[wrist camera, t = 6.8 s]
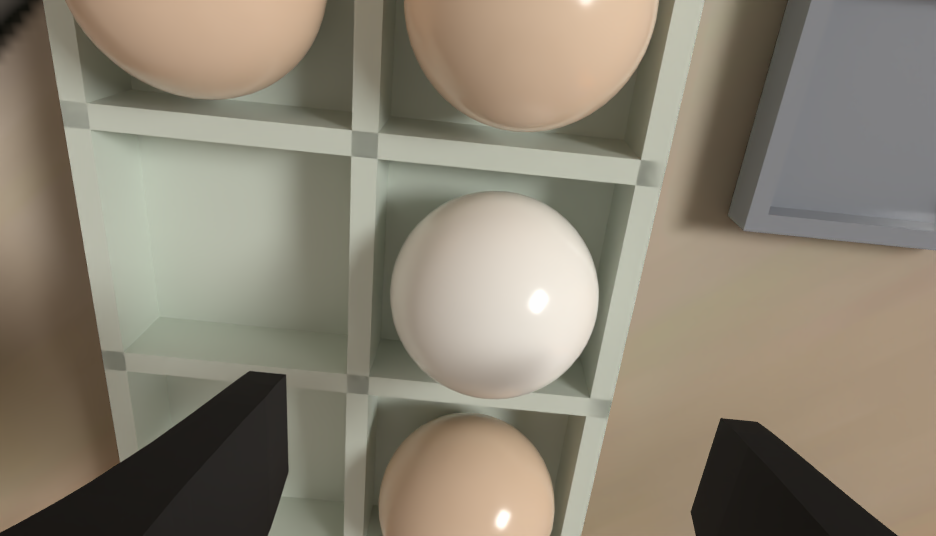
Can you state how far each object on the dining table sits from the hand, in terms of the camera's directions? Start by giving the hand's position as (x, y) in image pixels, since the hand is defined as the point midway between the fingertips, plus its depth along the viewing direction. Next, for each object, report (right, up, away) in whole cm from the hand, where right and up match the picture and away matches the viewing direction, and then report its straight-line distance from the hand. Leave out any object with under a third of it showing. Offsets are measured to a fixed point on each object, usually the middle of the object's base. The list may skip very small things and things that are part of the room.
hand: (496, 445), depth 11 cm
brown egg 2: (+1, +9, +4) cm, 10 cm away
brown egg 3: (0, -3, +10) cm, 10 cm away
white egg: (0, +3, +7) cm, 8 cm away
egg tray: (-3, +4, +8) cm, 9 cm away
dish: (+10, +7, +6) cm, 14 cm away
